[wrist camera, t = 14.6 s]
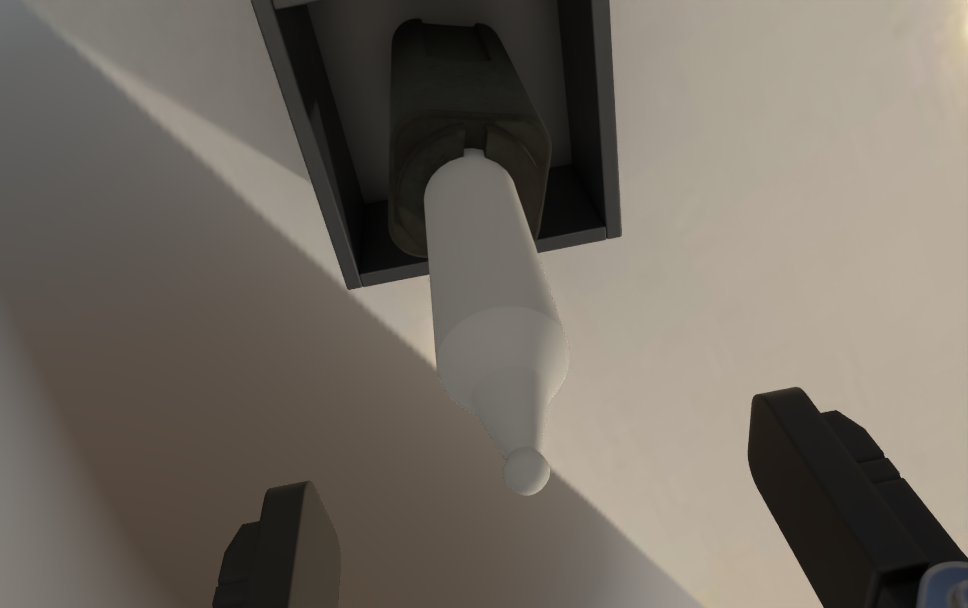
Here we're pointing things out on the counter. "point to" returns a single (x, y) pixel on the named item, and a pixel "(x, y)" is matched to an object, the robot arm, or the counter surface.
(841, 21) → the counter surface
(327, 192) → the bin
